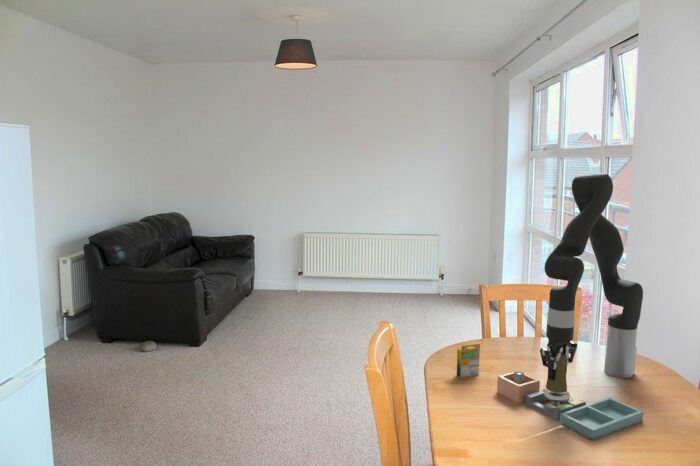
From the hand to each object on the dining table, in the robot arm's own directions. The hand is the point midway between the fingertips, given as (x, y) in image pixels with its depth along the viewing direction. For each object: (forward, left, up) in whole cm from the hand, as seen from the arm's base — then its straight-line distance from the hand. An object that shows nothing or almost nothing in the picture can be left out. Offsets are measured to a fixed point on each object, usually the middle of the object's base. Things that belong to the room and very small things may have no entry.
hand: (556, 378), depth 166 cm
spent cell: (+3, -12, -9) cm, 15 cm away
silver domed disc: (0, 0, -8) cm, 8 cm away
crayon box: (+6, -32, -10) cm, 34 cm away
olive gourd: (0, 0, -3) cm, 3 cm away
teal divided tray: (-5, +12, -10) cm, 16 cm away
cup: (+3, -12, -10) cm, 16 cm away
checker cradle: (0, 0, -10) cm, 10 cm away
